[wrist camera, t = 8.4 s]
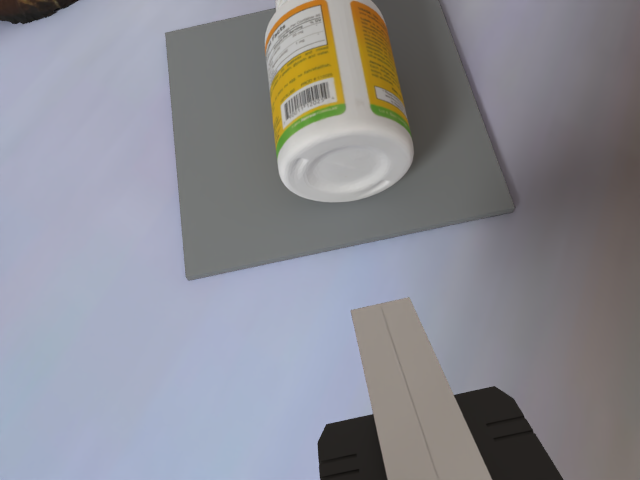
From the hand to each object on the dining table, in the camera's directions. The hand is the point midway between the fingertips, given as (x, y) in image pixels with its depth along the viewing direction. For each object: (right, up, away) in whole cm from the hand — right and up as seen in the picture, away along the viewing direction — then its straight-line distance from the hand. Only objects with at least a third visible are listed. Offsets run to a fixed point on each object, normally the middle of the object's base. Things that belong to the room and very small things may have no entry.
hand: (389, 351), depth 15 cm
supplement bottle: (-1, +5, +8) cm, 10 cm away
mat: (-2, +9, +13) cm, 16 cm away
